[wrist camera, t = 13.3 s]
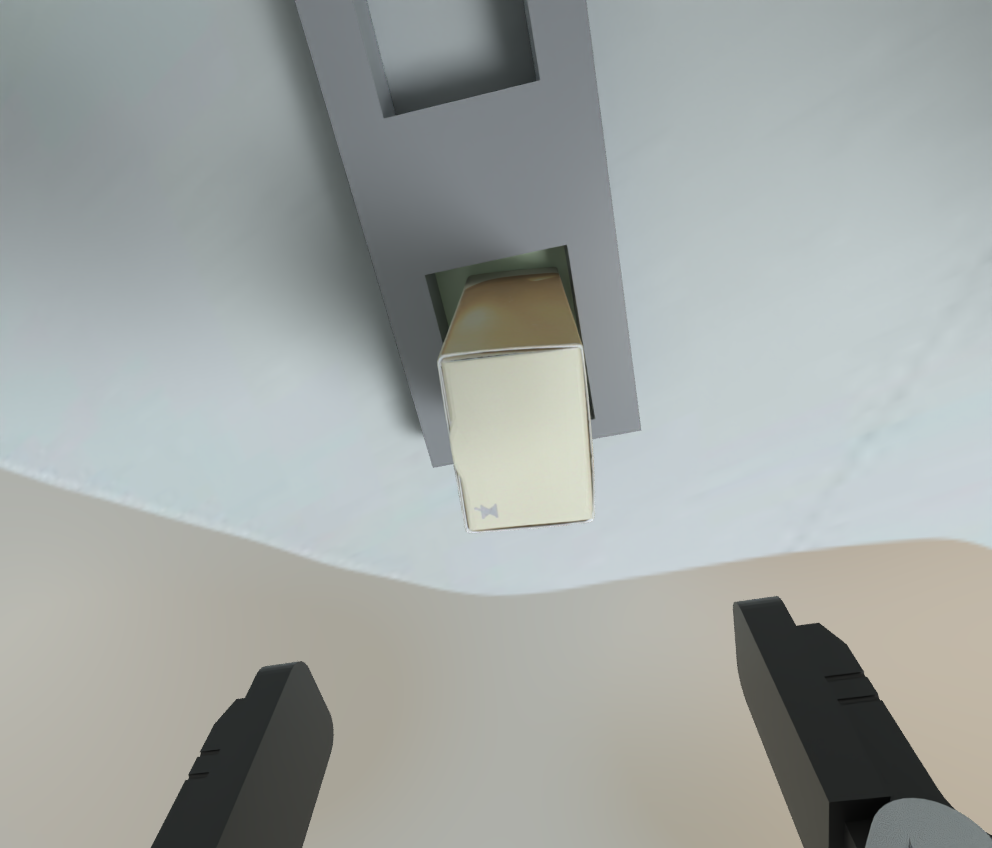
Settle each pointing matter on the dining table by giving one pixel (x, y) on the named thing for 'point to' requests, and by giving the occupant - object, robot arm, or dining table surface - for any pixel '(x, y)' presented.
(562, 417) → the skincare box
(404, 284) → the panel
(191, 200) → the dining table surface
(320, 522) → the dining table surface
